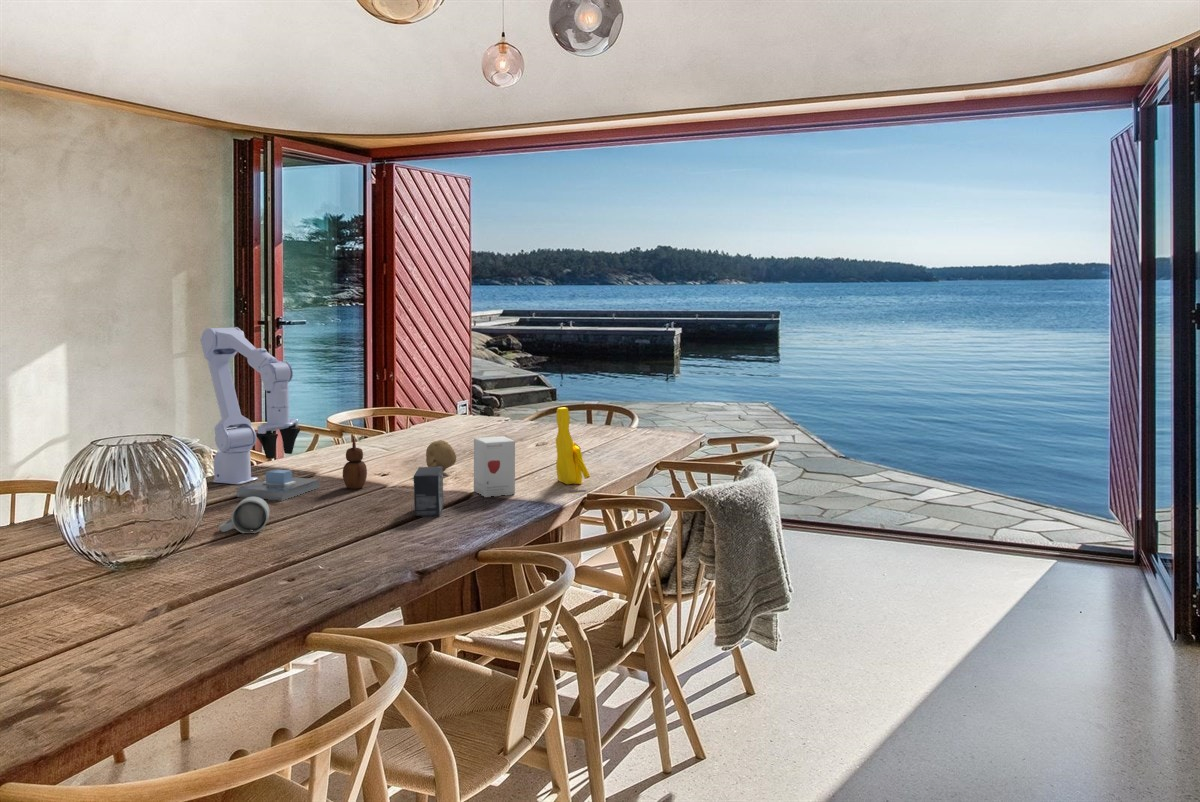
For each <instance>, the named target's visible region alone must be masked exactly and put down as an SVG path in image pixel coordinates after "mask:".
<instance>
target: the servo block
mask: <svg viewBox="0 0 1200 802" xmlns="http://www.w3.org/2000/svg"><path fill="white" fill-rule="evenodd" d="M292 477H293V470H289V469H287V470H285V469H278V468H277V469H276V468H274V469H270V470H266V471H265V479H266V481H265V482H263V481H262V482H263V484H266V485H275V486H289V485H292V484H295V483H296V481H292Z"/></svg>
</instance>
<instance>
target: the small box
mask: <svg viewBox="0 0 1200 802" xmlns="http://www.w3.org/2000/svg"><path fill="white" fill-rule="evenodd" d="M413 501H414V502H413V504H414V505H413V508H414V517H415V516H421V517H423V518H424V517H425V518H426V517H427V516H439V517H440V516H441V514H442V513H443V509H444V506H445V503H444V502H445V501H444V472H443V467H428V466H424V467H423V466H419V467H418V468H417V470H416V472H415V473H414V474H413ZM421 517H420V518H421Z"/></svg>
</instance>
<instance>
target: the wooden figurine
mask: <svg viewBox="0 0 1200 802" xmlns="http://www.w3.org/2000/svg"><path fill="white" fill-rule="evenodd" d="M345 459H346V461H347V462H346V463H345V464H344V466H343V467H342V479H343V482H344V485H345V487H346V488H348V489H351V490H358V489H362V488H364V486H365V485H366V480H367V478H368V477H367V475H368V470H367V469H368V468H367V465H366V463H365V462H364V461H363V459H364V451H363V449H362V448H360V447H357V446H356V439H355V436H354V435H353V436H352V446H351V447H350V448H348V449H347V450H346V452H345Z"/></svg>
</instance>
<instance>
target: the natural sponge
mask: <svg viewBox="0 0 1200 802" xmlns="http://www.w3.org/2000/svg"><path fill="white" fill-rule="evenodd" d="M425 458H426V459H425V461H426V465H427V466H426V467H443V473H444V472H445V471H446V470H447V469H448V468H450V467H452V466H454V465H455V464H456V462H457V455H456V452H455V450H454V449H453V447H452V445H451V444H450V443H448V442H447V441H445V440H442V439H441V440H436V441H435V440H434V441H432V442H431V443H430V444H428V446H427V447H426V451H425Z"/></svg>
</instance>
